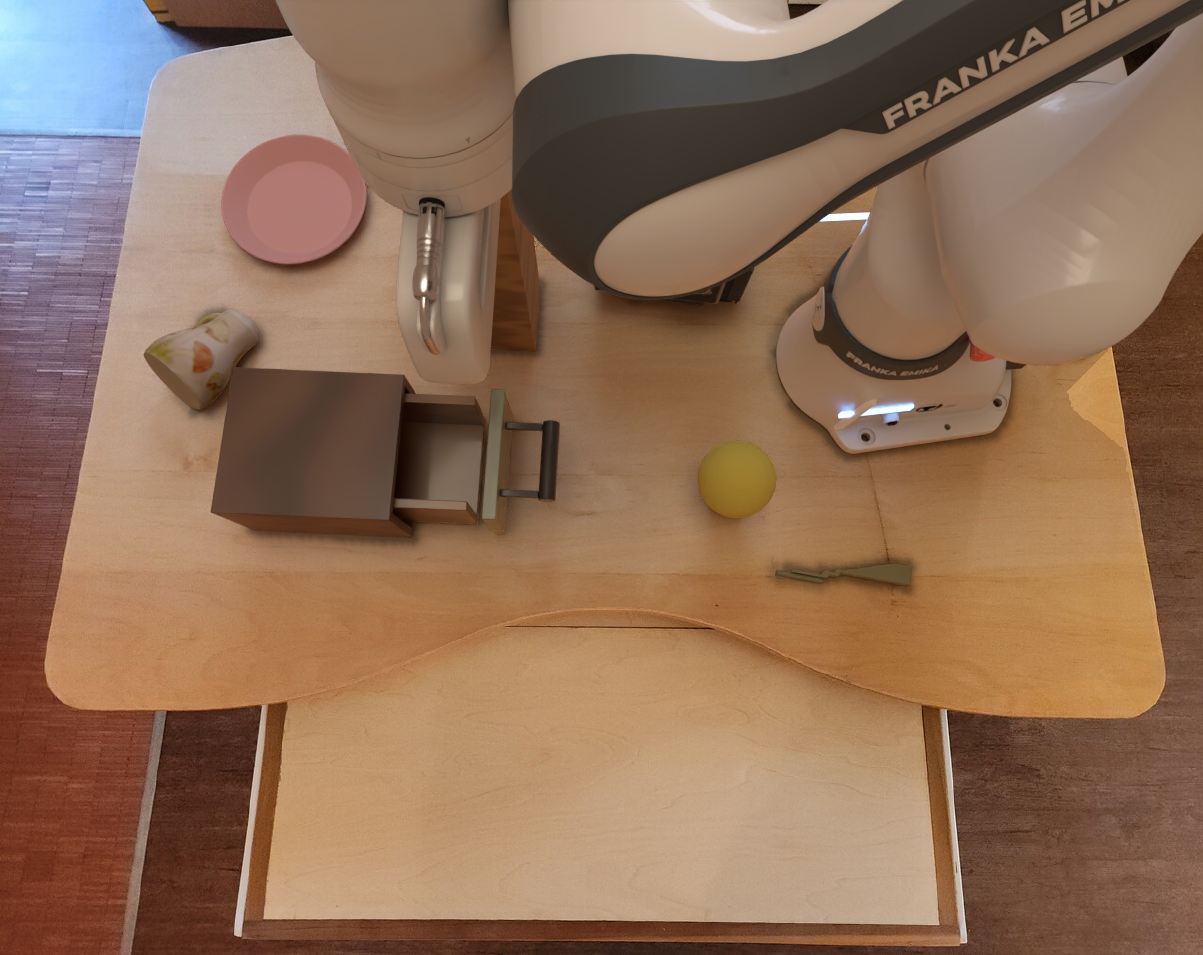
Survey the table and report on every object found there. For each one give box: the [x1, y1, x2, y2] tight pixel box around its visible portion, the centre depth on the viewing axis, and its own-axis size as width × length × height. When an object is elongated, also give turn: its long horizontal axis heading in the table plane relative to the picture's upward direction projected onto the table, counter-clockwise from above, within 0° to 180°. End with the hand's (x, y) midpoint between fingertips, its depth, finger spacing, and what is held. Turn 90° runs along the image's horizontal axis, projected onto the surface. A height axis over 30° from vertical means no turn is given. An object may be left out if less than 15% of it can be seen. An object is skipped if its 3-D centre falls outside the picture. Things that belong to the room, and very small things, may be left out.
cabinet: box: [210, 366, 417, 539], centre depth 73 cm, size 15×13×9 cm
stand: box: [491, 189, 541, 352], centre depth 67 cm, size 7×7×28 cm
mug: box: [143, 309, 259, 410], centre depth 77 cm, size 8×10×10 cm
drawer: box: [392, 388, 561, 535], centre depth 73 cm, size 18×11×7 cm, turn 88°
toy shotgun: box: [775, 562, 913, 587], centre depth 75 cm, size 12×2×1 cm, turn 89°
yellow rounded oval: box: [696, 439, 777, 519], centre depth 72 cm, size 7×7×10 cm
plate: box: [220, 134, 368, 265], centre depth 82 cm, size 14×14×2 cm
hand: (480, 259), depth 51 cm, fingers closed
